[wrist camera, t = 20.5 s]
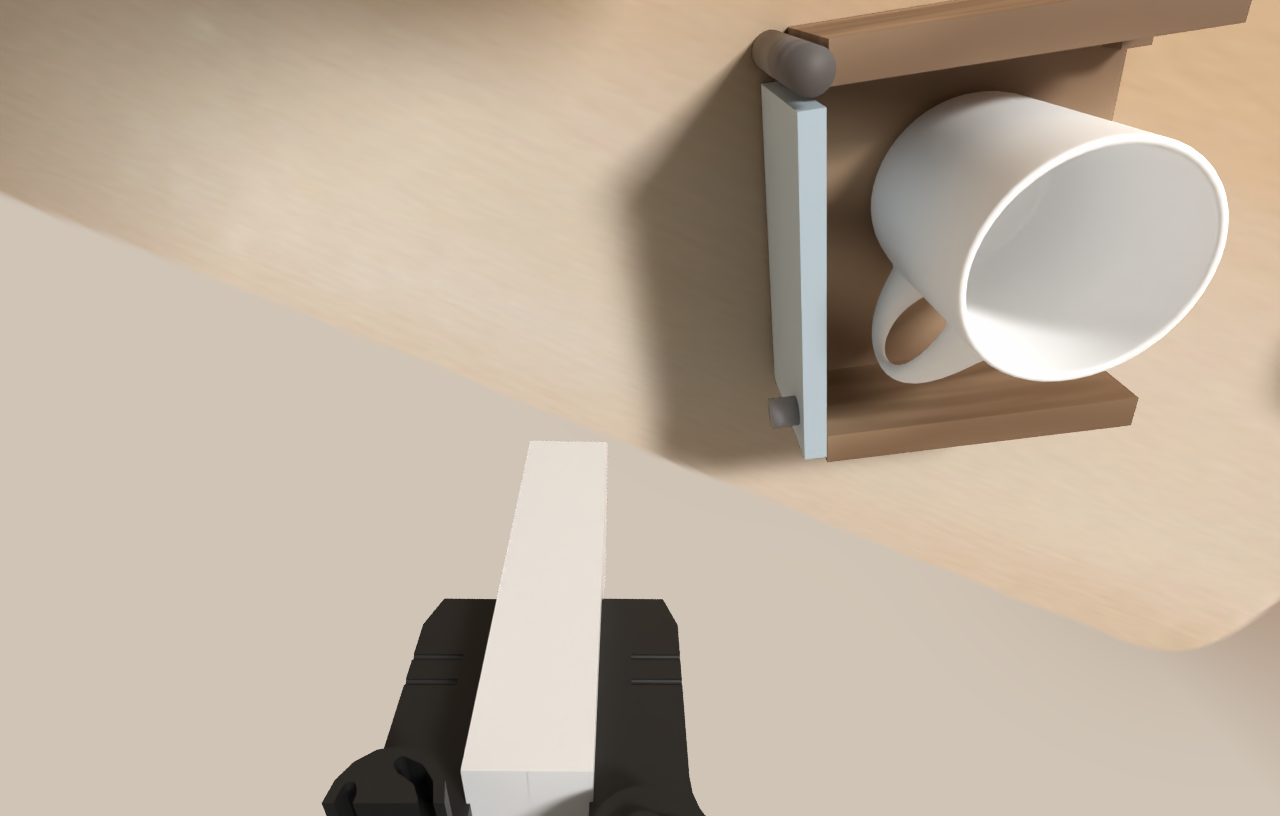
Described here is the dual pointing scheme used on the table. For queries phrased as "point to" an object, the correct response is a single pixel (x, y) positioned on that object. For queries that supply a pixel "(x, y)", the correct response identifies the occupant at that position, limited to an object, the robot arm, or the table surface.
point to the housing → (858, 142)
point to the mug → (1040, 237)
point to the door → (797, 261)
